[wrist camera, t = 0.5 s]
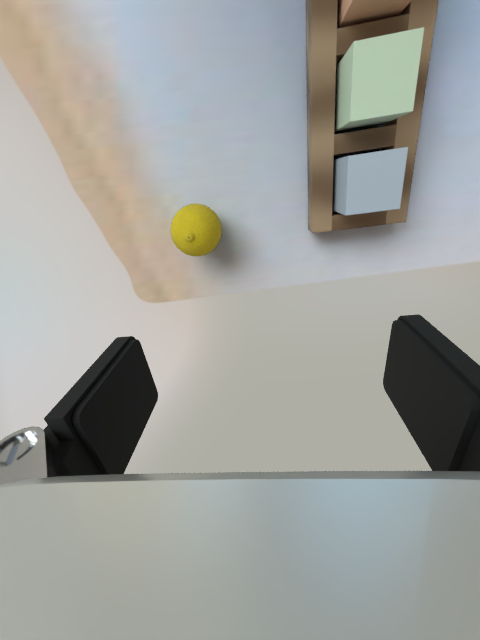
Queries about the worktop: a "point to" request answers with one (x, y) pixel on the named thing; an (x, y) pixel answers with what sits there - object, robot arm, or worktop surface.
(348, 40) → the button board
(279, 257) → the worktop surface
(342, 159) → the button slate
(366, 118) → the button sage
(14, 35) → the worktop surface
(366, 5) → the button terracotta
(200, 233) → the lemon
